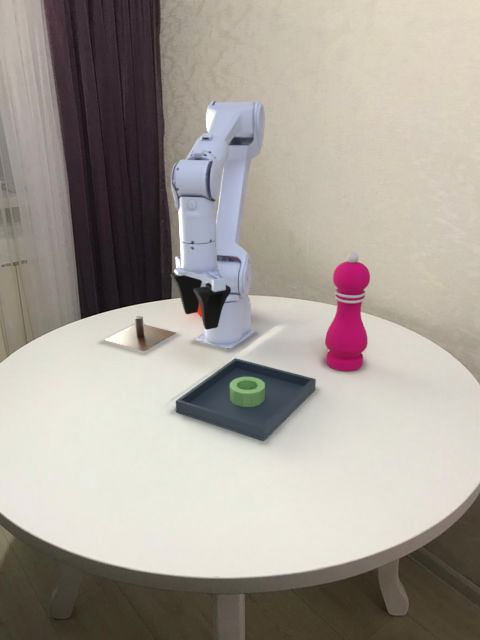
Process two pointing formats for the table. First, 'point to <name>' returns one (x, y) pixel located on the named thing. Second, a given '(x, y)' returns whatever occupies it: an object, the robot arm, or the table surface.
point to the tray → (257, 421)
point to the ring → (247, 391)
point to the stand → (140, 336)
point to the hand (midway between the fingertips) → (200, 320)
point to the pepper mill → (348, 316)
